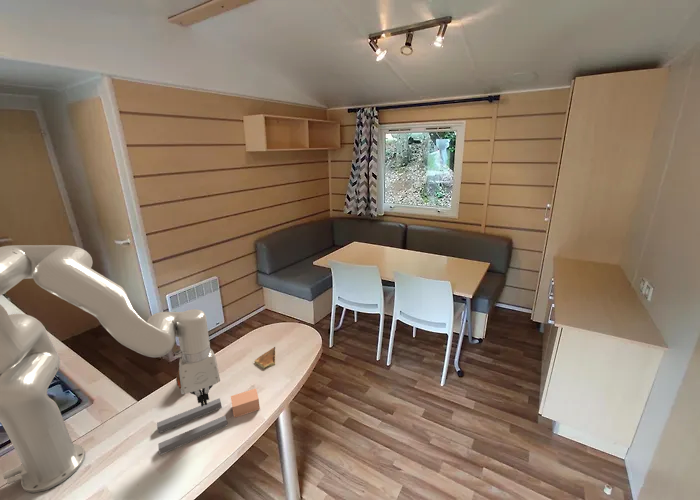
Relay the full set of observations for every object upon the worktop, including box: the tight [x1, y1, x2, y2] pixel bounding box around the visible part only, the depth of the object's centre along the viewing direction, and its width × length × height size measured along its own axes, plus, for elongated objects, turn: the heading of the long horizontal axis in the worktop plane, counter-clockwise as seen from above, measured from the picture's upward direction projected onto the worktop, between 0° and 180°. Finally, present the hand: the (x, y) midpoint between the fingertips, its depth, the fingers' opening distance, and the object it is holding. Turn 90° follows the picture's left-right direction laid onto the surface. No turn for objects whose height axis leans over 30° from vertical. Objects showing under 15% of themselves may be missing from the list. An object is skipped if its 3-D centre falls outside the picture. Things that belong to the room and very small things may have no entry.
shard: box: [253, 346, 276, 369], centre depth 127 cm, size 11×8×2 cm
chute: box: [156, 397, 228, 456], centre depth 97 cm, size 18×10×2 cm, turn 122°
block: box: [230, 388, 261, 418], centre depth 103 cm, size 8×5×4 cm, turn 115°
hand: (203, 402), depth 97 cm, fingers closed
